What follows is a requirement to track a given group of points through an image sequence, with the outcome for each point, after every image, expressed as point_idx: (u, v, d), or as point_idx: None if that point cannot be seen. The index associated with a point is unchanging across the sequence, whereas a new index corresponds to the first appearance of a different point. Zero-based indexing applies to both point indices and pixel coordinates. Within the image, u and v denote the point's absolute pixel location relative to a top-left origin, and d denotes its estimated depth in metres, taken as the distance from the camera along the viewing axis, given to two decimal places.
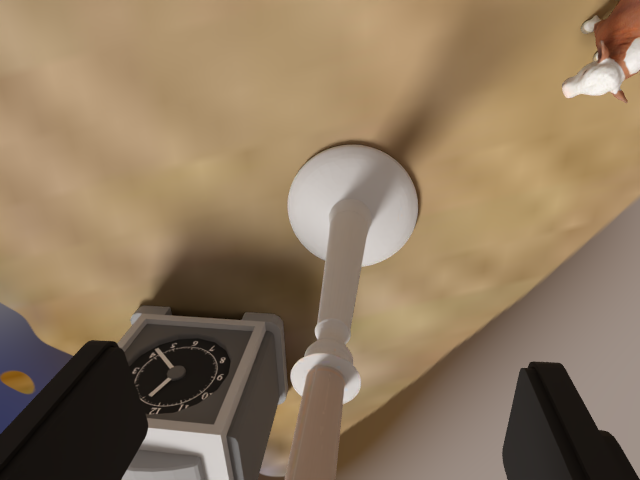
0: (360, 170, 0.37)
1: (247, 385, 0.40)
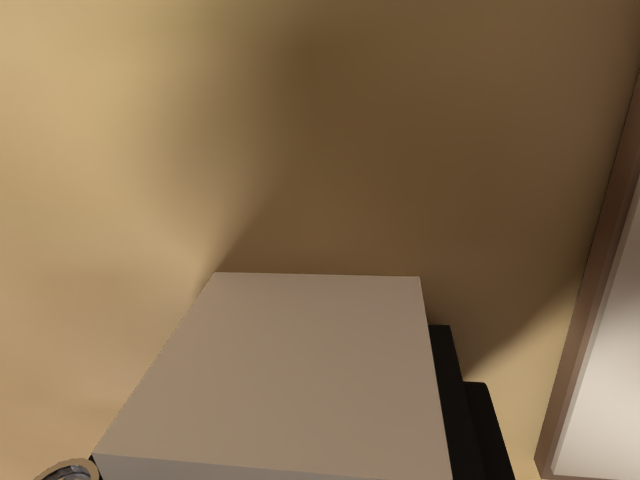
0: None
1: None
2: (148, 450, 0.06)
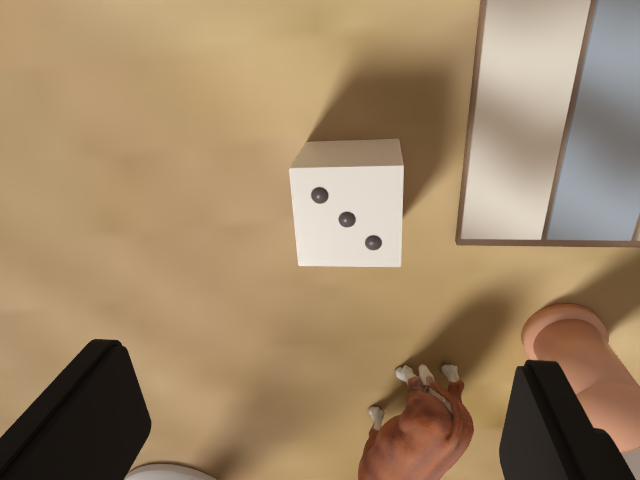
0: None
1: None
2: (307, 167, 0.18)
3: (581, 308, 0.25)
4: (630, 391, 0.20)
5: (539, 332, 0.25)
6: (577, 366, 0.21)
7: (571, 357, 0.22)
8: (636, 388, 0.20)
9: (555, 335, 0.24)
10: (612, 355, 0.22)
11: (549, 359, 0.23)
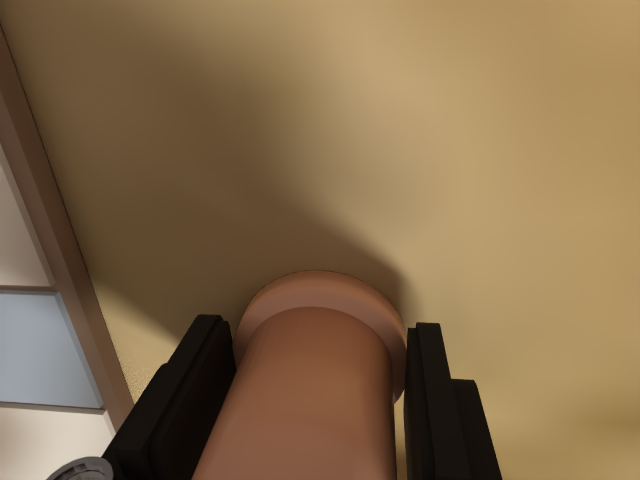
0: None
1: None
2: None
3: None
4: None
5: None
6: None
7: None
8: None
9: None
10: (212, 431, 0.08)
11: None
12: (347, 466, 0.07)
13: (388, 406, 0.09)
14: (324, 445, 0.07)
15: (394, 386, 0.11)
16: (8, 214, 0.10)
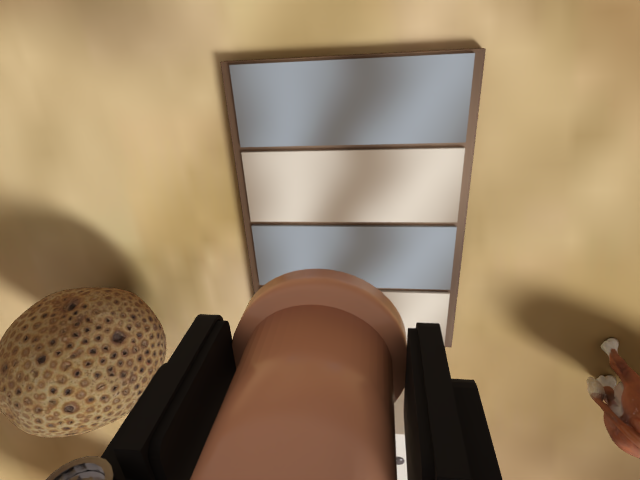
0: None
1: None
2: None
3: None
4: None
5: None
6: None
7: None
8: None
9: None
10: (211, 429, 0.08)
11: None
12: (348, 464, 0.06)
13: (388, 404, 0.09)
14: (324, 443, 0.07)
15: (394, 385, 0.11)
16: (454, 187, 0.22)
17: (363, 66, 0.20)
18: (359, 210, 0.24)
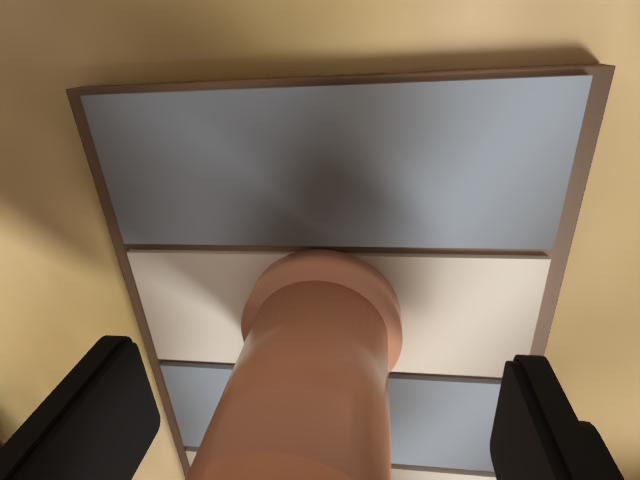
0: None
1: None
2: None
3: None
4: None
5: None
6: None
7: None
8: None
9: None
10: (226, 385, 0.09)
11: None
12: (346, 406, 0.08)
13: (383, 366, 0.10)
14: (325, 390, 0.08)
15: (389, 355, 0.12)
16: (522, 324, 0.12)
17: (348, 101, 0.10)
18: None
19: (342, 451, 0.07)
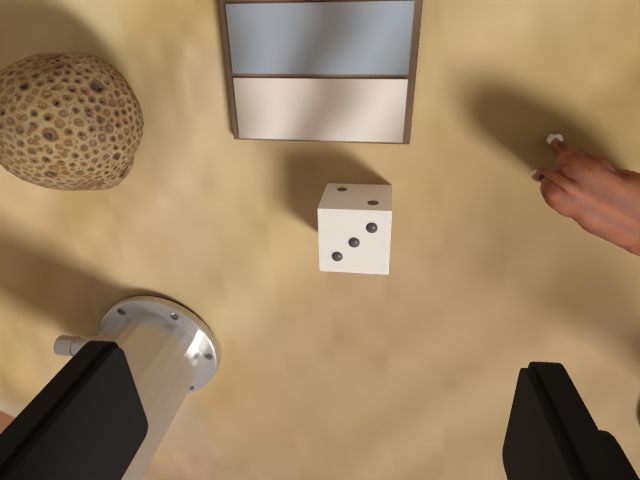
0: None
1: None
2: (319, 260, 0.30)
3: None
4: None
5: None
6: None
7: None
8: None
9: None
10: None
11: None
12: None
13: None
14: None
15: None
16: None
17: None
18: None
19: None
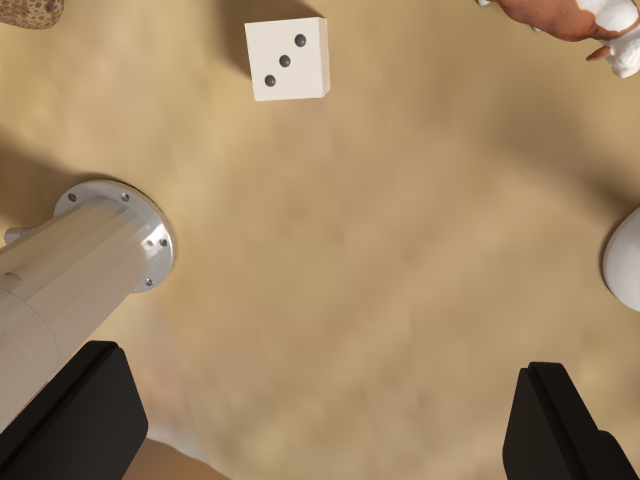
0: None
1: None
2: (253, 89, 0.30)
3: None
4: None
5: None
6: None
7: None
8: None
9: None
10: None
11: None
12: None
13: None
14: None
15: None
16: None
17: None
18: None
19: None
